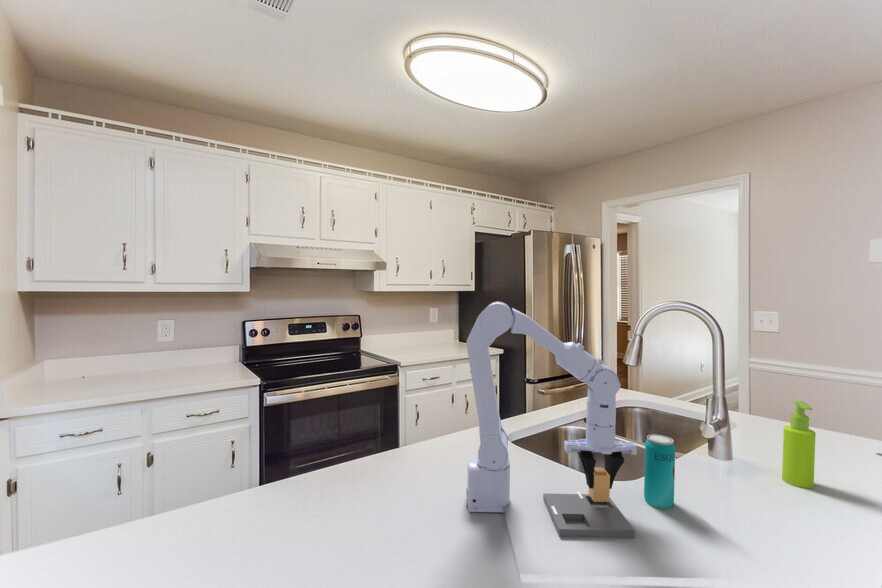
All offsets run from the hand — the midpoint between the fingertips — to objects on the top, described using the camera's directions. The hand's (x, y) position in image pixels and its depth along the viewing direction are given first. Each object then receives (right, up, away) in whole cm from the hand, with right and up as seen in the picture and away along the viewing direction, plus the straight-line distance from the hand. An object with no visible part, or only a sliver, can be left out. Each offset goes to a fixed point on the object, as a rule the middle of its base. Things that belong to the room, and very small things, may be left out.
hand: (598, 486), depth 86 cm
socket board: (-4, -6, -3) cm, 8 cm away
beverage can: (+14, -6, +3) cm, 16 cm away
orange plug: (0, -2, 0) cm, 2 cm away
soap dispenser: (+54, -6, +14) cm, 56 cm away
